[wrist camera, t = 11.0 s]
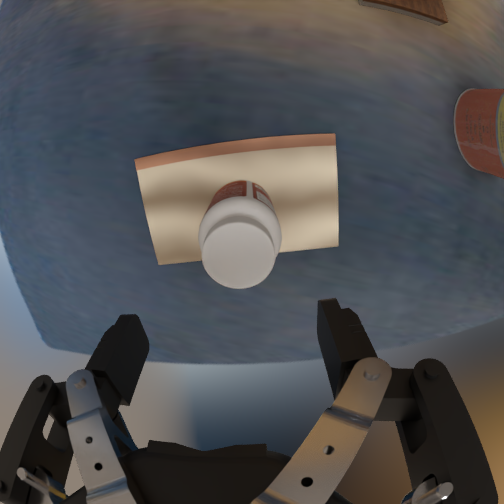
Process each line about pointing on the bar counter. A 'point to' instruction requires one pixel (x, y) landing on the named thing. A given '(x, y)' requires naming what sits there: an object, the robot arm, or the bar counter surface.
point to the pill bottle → (240, 235)
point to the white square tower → (412, 8)
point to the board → (250, 169)
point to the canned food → (481, 129)
